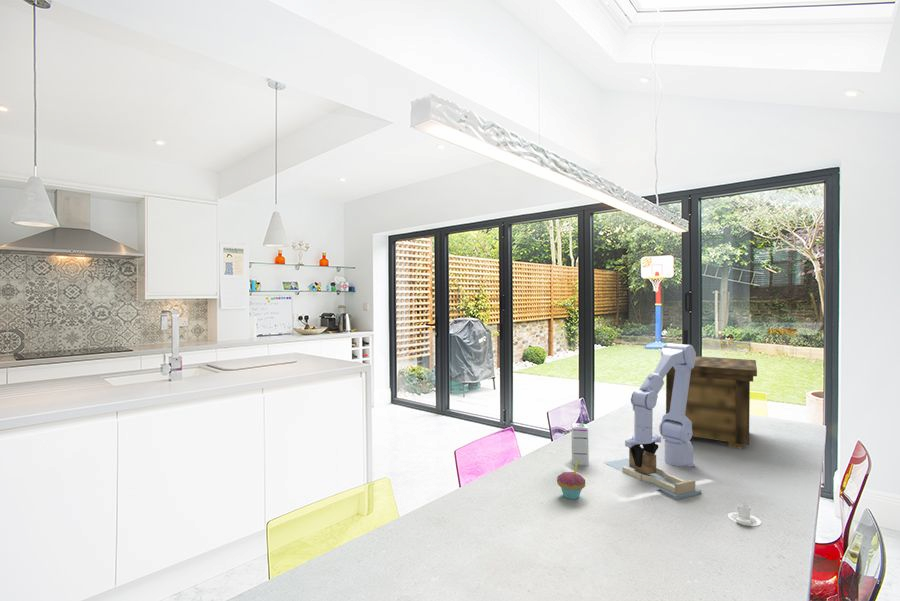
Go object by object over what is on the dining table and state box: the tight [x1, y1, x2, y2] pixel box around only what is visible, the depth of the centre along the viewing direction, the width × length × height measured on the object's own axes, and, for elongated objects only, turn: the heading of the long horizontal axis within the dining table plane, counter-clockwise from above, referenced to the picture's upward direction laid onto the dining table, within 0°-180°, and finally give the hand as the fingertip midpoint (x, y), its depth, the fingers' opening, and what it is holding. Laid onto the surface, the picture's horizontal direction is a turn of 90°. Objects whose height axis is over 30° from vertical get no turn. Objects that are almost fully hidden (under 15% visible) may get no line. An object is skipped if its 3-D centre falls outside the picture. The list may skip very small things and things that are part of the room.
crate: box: [665, 355, 758, 449], centre depth 206 cm, size 35×35×33 cm
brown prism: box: [628, 449, 657, 475], centre depth 160 cm, size 4×8×6 cm, turn 24°
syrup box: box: [571, 422, 590, 467], centre depth 170 cm, size 6×6×14 cm
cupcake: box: [556, 458, 586, 500], centre depth 144 cm, size 9×8×12 cm
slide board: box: [604, 458, 702, 501], centre depth 158 cm, size 11×31×4 cm, turn 24°
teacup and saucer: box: [726, 503, 762, 527], centre depth 129 cm, size 9×8×4 cm
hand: (643, 465), depth 160 cm, fingers closed on brown prism, 4 cm apart
